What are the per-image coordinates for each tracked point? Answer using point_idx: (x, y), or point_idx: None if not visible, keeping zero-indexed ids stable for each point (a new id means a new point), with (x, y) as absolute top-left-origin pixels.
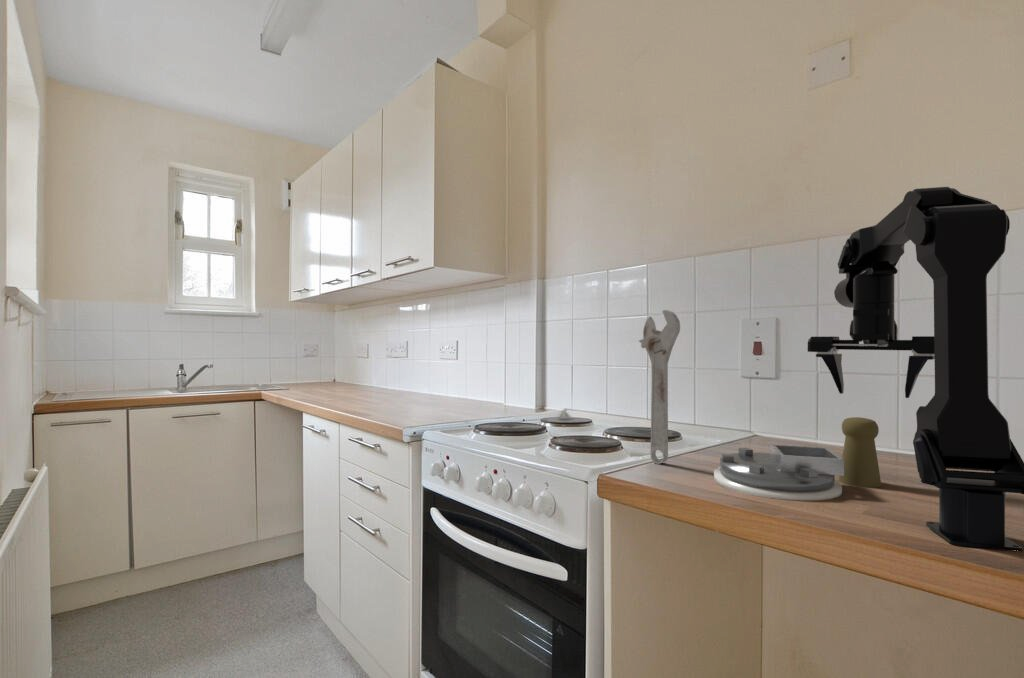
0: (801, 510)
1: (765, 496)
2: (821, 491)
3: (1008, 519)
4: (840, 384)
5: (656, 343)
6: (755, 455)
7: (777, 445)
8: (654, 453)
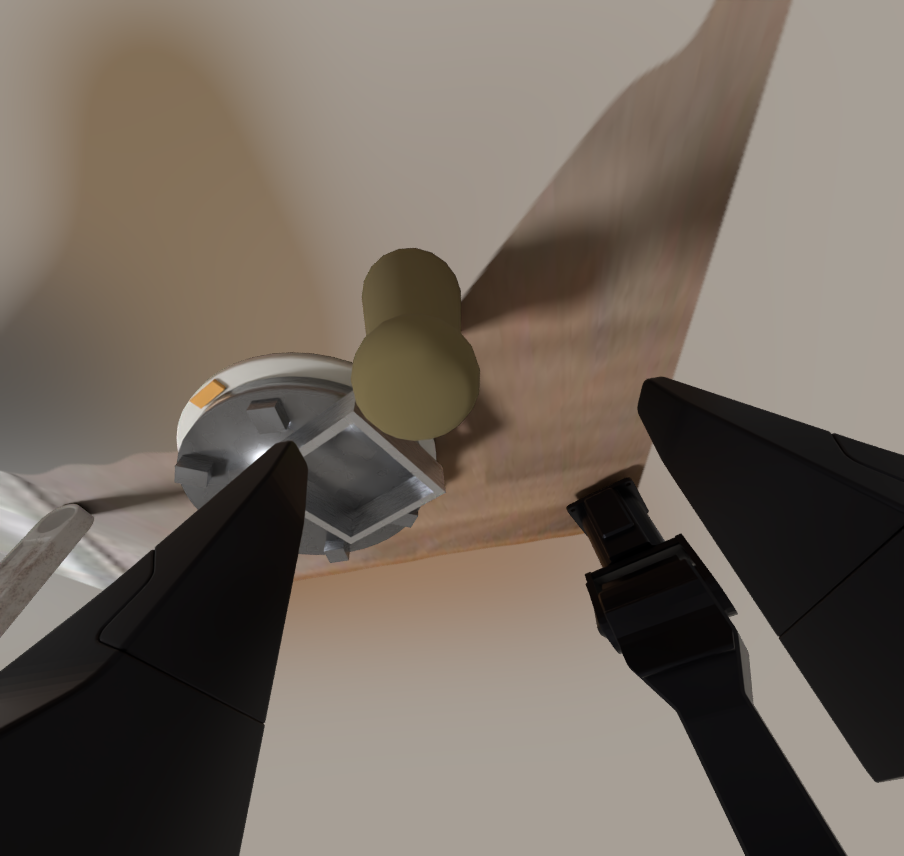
0: (427, 524)
1: None
2: None
3: (674, 346)
4: (300, 533)
5: None
6: (217, 458)
7: None
8: (45, 526)
